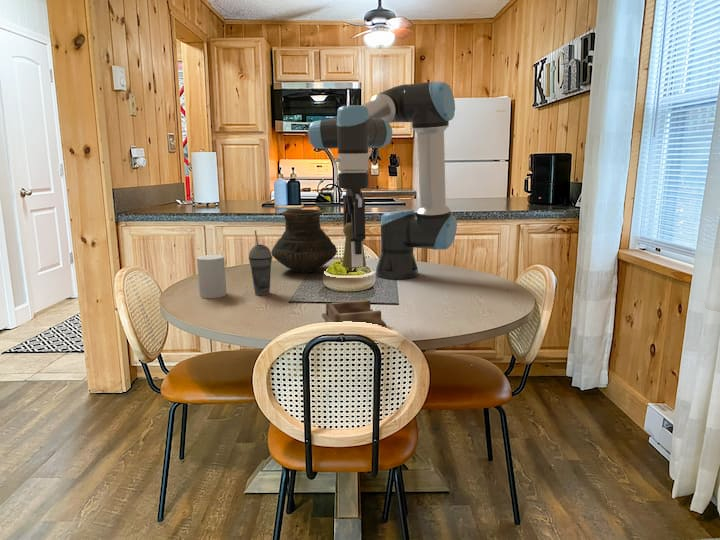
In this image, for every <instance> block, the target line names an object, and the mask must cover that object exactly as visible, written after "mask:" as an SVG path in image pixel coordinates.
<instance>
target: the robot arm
mask: <svg viewBox="0 0 720 540" xmlns="http://www.w3.org/2000/svg"><path fill="white" fill-rule="evenodd" d="M455 102H456V101H455V96H454V94H453V90H452V89H451V86H450V85H449V84H448V83H447V82H444V81H431V82H420V83H419V82H418V83H410V84H406V83H405V84H400V85H397V86H393V87H390V88H387V89H386V90H384V91H380V92H379V93H377V94H375V95H373V96H372V97H371V98H370V100H369V101H368V102H365V103H364V104H363V103H362V104H361V105H359V104H358V105H353V104H351V105H342V106H340V107H338V108H337V113H336V114H337V115H336V116H333V117H331V118H329V119H320V120H314V121H312V122H311V123H310V124H309V126H308V131H307V136H308V141H309V143H310V144H311V146H312V147H313V148H315V149H319V150H329V149H331V150H333V149H334V150H335V149H337V157H336V158H335V162H336V163H337V170H338V171H340V172H339V173H338V174H337V182H338V183H337V186H338V188H339V189H346V190H345V194H343V195H342V202H343V205H342V206H343V209H342V210H343V215H342V216H343V219H342V221H343V228H344V226H345V224H347V223H351V224H352V236H353V238H352V239H350V242H352V267H361V268H364V267H363V247H364V240H366V208H365V207H366V199H365V197H364V195H362V189H367V188H369V181H370V180H369V173H368V172H367V171H369V170H370V169H369V168H370V166H369V163H370V160H369V159H370V156H369V149H381V148H384V147H386V146H387V145H389V143H390V142H391V141H392V139H393V129H392V125H391V123H411V127H412V128H411V129H413V131H414V132H415V133H416V136H417V137H416V138H417V139H416V140H417V161H418V165H417V167H418V186H419V188H418V190H419V207H418V208H417V209H416V210H415V211H414V209H403V210H394V211H388V212H384V213H383V214H381V218H380V255H379V258H378V262H377V265H376V268H375V275H376V276H377V277H378V278H383V279H387V280H405V279H406V280H407V279H412V278H415V277H418V276H419V269H418V268H419V267H418V265H417V262H416V261H417V260H416V259H415V255H414V248H415V249H427V250H429V249H430V250H435V251H437V250H441V251H442V250H444V251H445V250H448V249H449V248H450V247H451V246H452V244H453V242H454V241H455V238H456V233H457V229H458V228H457V226H458V220H457V218H456V216H454V215H451V208H450V207H449V206H447V204H446V201H447V200H446V164H445V163H446V162H445V161H446V159H445V156H446V155H445V154H446V153H445V131H446V130H447V128H449V124H450V121H452V120H453V119H454V118H455V112H456V103H455ZM342 232H343V233H344V231H342ZM344 237H346V235H345V234H344Z"/></svg>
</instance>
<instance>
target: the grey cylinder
mask: <svg viewBox="0 0 720 540" xmlns="http://www.w3.org/2000/svg"><path fill="white" fill-rule="evenodd" d="M196 264H197V265H196V266H197V267H196V268H197V277H198V292H199V297H200V298H204V299H216V298H221V297H225V296H227V282H226V280H227V279H226V267H225V256H224V255H222V254H206V255H201V256H200V255H199V256H197V257H196Z"/></svg>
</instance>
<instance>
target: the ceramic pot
mask: <svg viewBox="0 0 720 540" xmlns="http://www.w3.org/2000/svg"><path fill="white" fill-rule="evenodd" d="M323 213H324V212H323V211H322V210H320V209H315V208H314V209H312V208H311V209H309V208H308V209H307V208H306V209H290V210H289V209H288V210H284V211H282V212H281V215H282V216H283V217H284V221H285V223H284V224H285V226H284V227H285V230H284V232H283V234H282V235H281V237H280V238H279V239H278V240H277V241H276V243H275V244H274V245H273V247H272V249H271V250H270V252H271V255H272V258H274V259H275V260H277V262H279V263H280V264H281V265H283V266H284V267H286V268H288V269H289V270H291V271H294V272H296V273H312V272H316V271H318V270H319V269H320V268H322V267H323V266H325V265H326V264H327V263H328V262H330V261H331V260H333V258H334V257H336V255H337V253H338V250H337V247H336V245H335V244H334V243H333V242H332V240H331V238H330V237H329V236H328V235H326V232H324V230H323V229H322V228H321V222H320V221H321V220H320V219H321V215H322V214H323Z"/></svg>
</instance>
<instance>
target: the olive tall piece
mask: <svg viewBox="0 0 720 540" xmlns="http://www.w3.org/2000/svg"><path fill="white" fill-rule="evenodd" d="M343 231H344V232H343ZM343 231H342V232H343V234H344V236H345V235H346V236H345V240H344V248H343V257H342V267H344V268H347V269H359V268H365V267H366V266H367V264H366V256H365V248H364V247H365V246H363V267H352V242H350V239H352V238H353V236H352V224H351V223H347V224H345V226H344V228H343Z"/></svg>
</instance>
